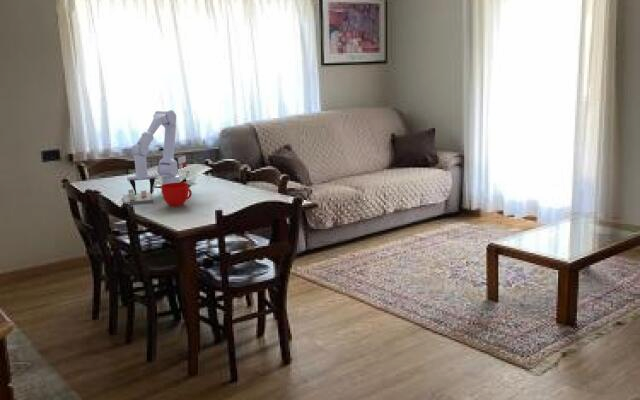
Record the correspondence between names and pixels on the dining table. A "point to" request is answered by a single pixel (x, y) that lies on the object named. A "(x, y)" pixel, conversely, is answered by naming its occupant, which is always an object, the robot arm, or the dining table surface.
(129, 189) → the grey knob
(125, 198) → the switch base
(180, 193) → the ceramic cup
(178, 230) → the dining table surface
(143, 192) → the rose knob
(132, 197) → the sage knob
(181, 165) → the red and white box
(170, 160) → the robot arm
